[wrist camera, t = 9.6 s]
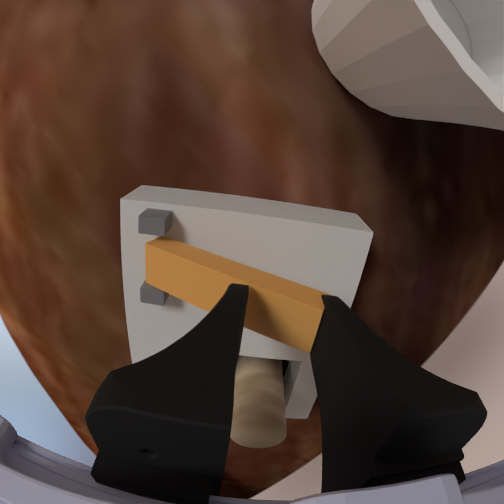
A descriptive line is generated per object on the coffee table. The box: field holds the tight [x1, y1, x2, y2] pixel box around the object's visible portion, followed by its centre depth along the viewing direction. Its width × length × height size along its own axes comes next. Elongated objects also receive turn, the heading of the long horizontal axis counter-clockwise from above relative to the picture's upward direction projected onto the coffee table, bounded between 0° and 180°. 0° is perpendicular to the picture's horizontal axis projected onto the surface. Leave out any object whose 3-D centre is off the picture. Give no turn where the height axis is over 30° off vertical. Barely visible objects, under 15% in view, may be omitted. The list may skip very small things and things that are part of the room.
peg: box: [230, 355, 287, 448], centre depth 18 cm, size 3×3×7 cm
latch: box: [145, 236, 331, 353], centre depth 13 cm, size 2×8×1 cm, turn 82°
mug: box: [311, 0, 504, 131], centre depth 8 cm, size 13×10×10 cm
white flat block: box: [120, 185, 373, 419], centre depth 18 cm, size 14×12×4 cm
